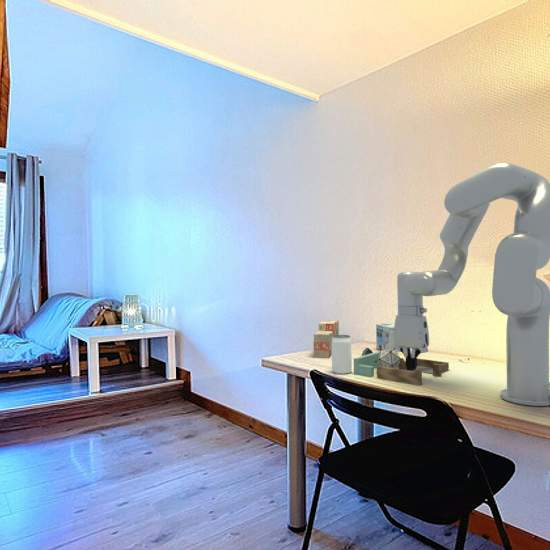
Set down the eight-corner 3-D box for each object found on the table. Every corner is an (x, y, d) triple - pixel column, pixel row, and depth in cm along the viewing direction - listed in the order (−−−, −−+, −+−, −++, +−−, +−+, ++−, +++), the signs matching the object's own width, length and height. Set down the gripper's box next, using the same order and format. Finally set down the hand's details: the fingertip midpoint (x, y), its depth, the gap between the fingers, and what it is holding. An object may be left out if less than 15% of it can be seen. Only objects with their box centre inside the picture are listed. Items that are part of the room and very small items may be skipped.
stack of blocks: (329, 358, 170) (328, 326, 170) (313, 357, 172) (312, 326, 172) (339, 348, 191) (338, 320, 191) (324, 348, 193) (324, 319, 193)
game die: (391, 382, 148) (403, 356, 151) (398, 379, 140) (411, 351, 143) (367, 368, 149) (379, 343, 152) (372, 364, 141) (386, 337, 144)
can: (336, 375, 144) (336, 337, 144) (329, 370, 150) (328, 335, 150) (355, 373, 146) (354, 336, 145) (346, 369, 152) (346, 334, 152)
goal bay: (395, 368, 152) (395, 353, 152) (371, 376, 140) (371, 361, 140) (378, 365, 156) (378, 351, 156) (353, 373, 145) (353, 358, 145)
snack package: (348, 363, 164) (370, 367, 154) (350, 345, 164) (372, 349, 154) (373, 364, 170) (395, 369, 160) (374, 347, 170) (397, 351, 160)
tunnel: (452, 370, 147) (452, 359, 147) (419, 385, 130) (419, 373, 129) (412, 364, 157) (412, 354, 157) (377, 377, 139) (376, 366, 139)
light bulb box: (375, 349, 187) (375, 323, 187) (389, 348, 189) (389, 322, 189) (389, 353, 177) (389, 326, 177) (404, 352, 179) (404, 325, 179)
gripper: (438, 311, 137) (439, 370, 137) (394, 309, 147) (395, 364, 147) (428, 313, 131) (429, 375, 132) (382, 311, 142) (383, 368, 142)
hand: (411, 369), depth 139 cm, fingers closed
